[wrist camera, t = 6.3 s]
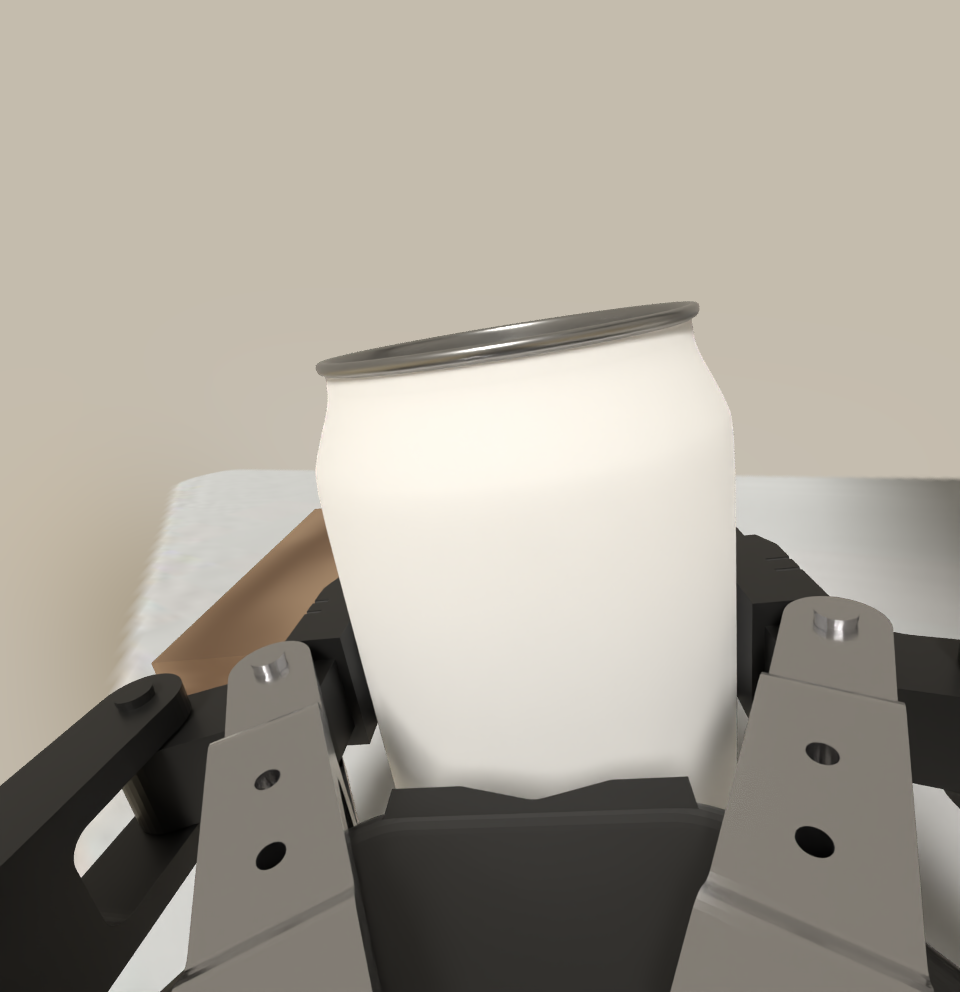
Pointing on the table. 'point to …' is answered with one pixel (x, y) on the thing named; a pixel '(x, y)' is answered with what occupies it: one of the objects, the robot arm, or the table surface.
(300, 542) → the serving board
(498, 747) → the can
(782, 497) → the table surface
